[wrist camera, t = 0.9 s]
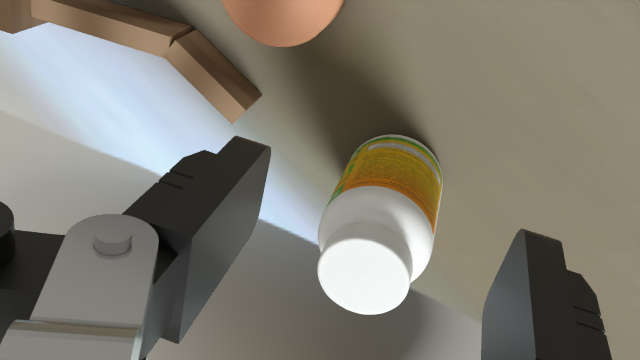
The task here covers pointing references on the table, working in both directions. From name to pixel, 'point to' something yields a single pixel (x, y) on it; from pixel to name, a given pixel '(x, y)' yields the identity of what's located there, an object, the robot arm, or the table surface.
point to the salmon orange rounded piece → (282, 19)
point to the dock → (143, 43)
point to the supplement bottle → (380, 224)
